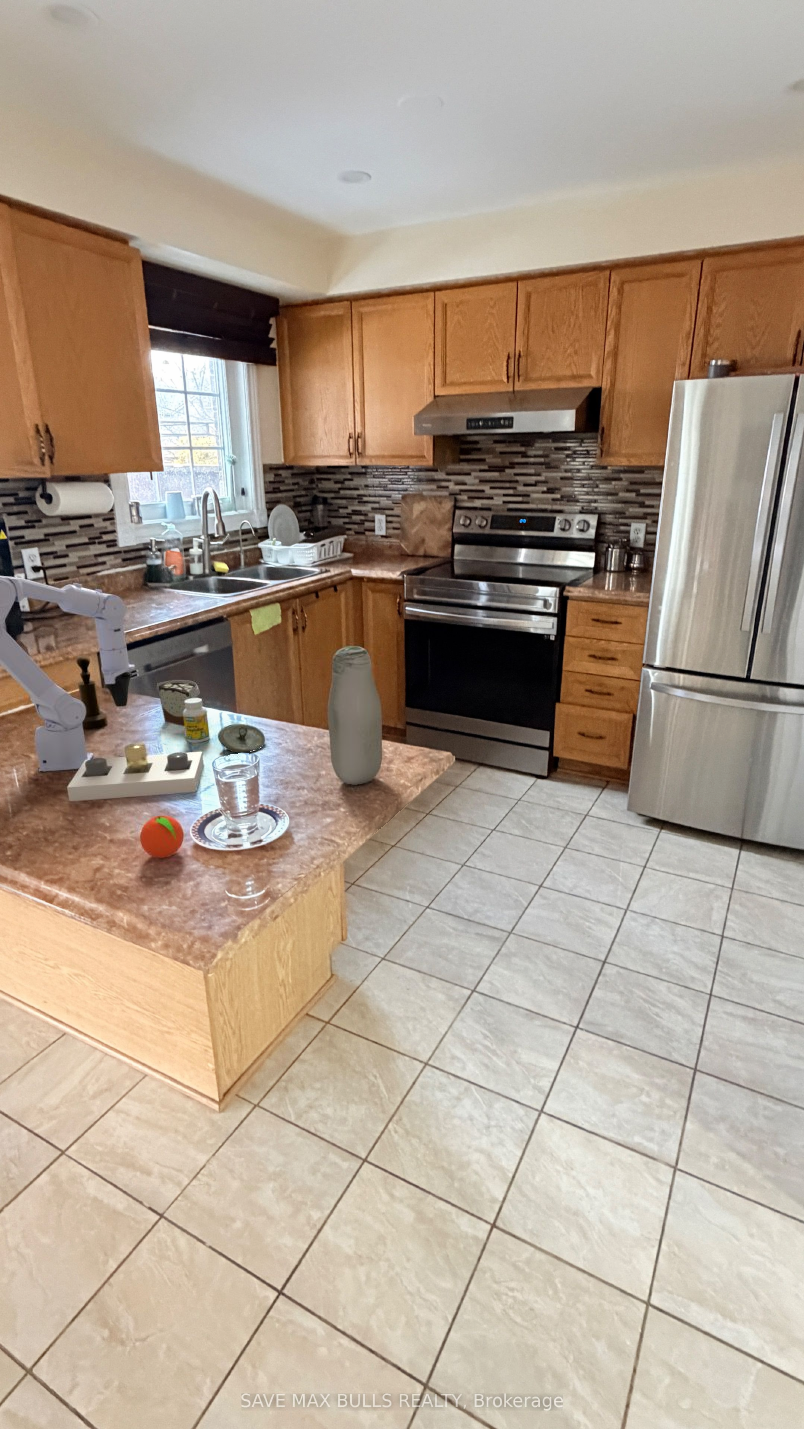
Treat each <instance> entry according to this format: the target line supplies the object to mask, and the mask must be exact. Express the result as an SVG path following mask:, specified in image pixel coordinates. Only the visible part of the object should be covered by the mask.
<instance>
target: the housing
mask: <svg viewBox="0 0 804 1429" xmlns="http://www.w3.org/2000/svg"><path fill="white" fill-rule="evenodd" d="M185 753H186V754H187V756H188V764H189V770H176V771H169V768H168V761H167V756H168V755H170V754H171V753H164V754H163V753H162V754H148V755H147V761H148V770H147V771H145V772H142V773H129V772H128V768H127V762H126V756H122V757H120V756H119V757H106V758H105V757H103V758H104V759H106V762H107V768H108V775H107V776H93V777H87V772H86V767H85V762H86V761H88V760H85V761H84V763H83V764H82V766H81V767H80V769H77V771H76V773H75V775H74V776H73V778H72V779H71V781H70V782H69V783H68V786H67V787H66V790H67V794H68V801H69V802H80V801H93V800H94V801H95V800H107V799H108V800H109V799H118V798H131V797H144V796H145V797H146V796H158V795H160V796H161V795H171V794H172V795H173V794H186V793H196V792H197V790H198V786H199V783H200V779H201V775H202V772H203V768H204V766H205V764H204V758H203V757H204V756H203V751H193V752H192V751H191V752H185ZM89 760H90V759H89Z"/></svg>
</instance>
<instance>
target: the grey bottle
mask: <svg viewBox="0 0 804 1429" xmlns="http://www.w3.org/2000/svg"><path fill="white" fill-rule="evenodd" d="M331 667H332V668H331V670H332V673H331V674H332V675H331V685H330V690H329V696H328V702H327V724H328V734H329V749H330V750H329V751H330V760H331V764H332V769H333V771H334V774H335V775H336V777H337V778H338V780H340V781H341V782H342V783H345V784H348V785H350V784H351V785H350V786H358V784H359V785H363V783H364V784H367V783H369V782H370V781H372V780H373V779H375V777H376V776H377V775H378V773H379V772H380V768H381V766H382V762H383V729H382V728H383V721H382V718H383V717H382V705H381V700H380V695H379V693H378V690H377V687H376V684H375V679H374V675H373V670H372V660H371V657H370V654H369V652H368V651H367V649H365V648H363V647H361V646H358V645H357V646H355V645H349V646H348V645H347V646H344V647H341V648H339V649H338V650H337V651H336V652H335V653H334V655H333V657H332V663H331Z"/></svg>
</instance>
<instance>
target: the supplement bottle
mask: <svg viewBox="0 0 804 1429" xmlns="http://www.w3.org/2000/svg"><path fill="white" fill-rule="evenodd" d="M184 704H185V707H186V709H185V710H184V711H183V719H184V726H185V727H184V733H185V738H186V741H187V742H188V743H193V744H195V743H196V744H198V743H199V744H200V743H203V742H205V741H208V740H209V739H210V737H211V736H210V728H209V720H208V719H209V718H208V712H207V709H206V707H204V706H203V705H204V704H203V700H202V698H199V697H197V698H191V699H187V700H185V701H184Z"/></svg>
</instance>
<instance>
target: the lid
mask: <svg viewBox="0 0 804 1429" xmlns="http://www.w3.org/2000/svg"><path fill="white" fill-rule="evenodd" d="M217 739H218V741H219V743H220V744H221V745H222V747H224V748H226V749H227V750H229V751H232V752H233V753H236V752H237V754H238V753H239V754H241V753H240V752H250V751H253V750H256V751H258V750H257V749H258V748H260V747H262V748H263V746H264V745H265V742H266V737H265V735H264V733H263V732H262V730H260V729H259V728H257V727H256V726H253V725H249V724H246V723H245V724H244V723H234V724H229V725H227V726H226V725H225V726H224V727H222V728H221V729H220V731H219V732H218V734H217ZM260 749H261V748H260ZM253 752H254V751H253ZM250 753H251V752H250Z"/></svg>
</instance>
